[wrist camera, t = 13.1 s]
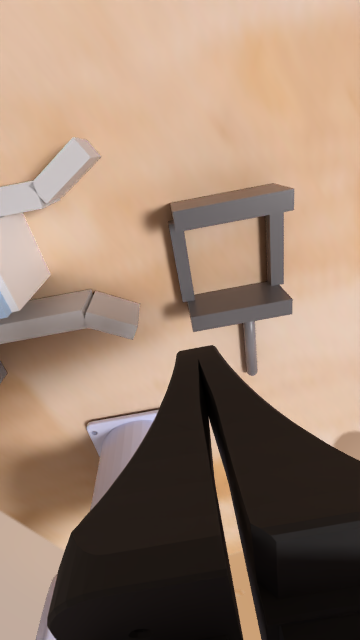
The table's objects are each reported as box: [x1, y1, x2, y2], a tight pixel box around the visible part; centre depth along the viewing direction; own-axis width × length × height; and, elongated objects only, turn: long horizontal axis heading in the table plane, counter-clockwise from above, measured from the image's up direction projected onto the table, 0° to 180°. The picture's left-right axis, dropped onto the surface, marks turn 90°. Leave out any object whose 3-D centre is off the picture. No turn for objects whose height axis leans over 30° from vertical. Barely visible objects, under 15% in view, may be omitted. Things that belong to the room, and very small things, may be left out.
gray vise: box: [168, 183, 294, 376], centre depth 19 cm, size 13×7×3 cm, turn 10°
